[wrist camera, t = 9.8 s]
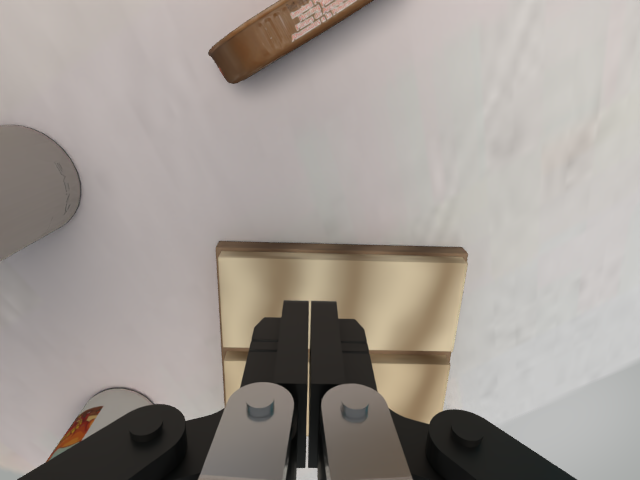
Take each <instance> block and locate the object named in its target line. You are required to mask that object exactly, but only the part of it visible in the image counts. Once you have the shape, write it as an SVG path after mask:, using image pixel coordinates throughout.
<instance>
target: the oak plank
mask: <svg viewBox="0 0 640 480" xmlns="http://www.w3.org/2000/svg"><path fill="white" fill-rule="evenodd" d="M218 264H219V282H220V301H221V320H222V338H223V347H237V348H250V343H251V339H252V335H253V331H254V327H255V326H256V325H257V324H258V323H259V322H260V321H261V320H262V319H263V318H264V317H280V318H281V316H282V309H283V301H284V300H300V301H309V331H308V349H310V320H311V301H336V302H337V310H338V319H355V320H356V321H357V322H358V323H359V324H360V325H361V326H362V327H363V328H364V330H365V334H366V339H367V344H368V348H369V350H401V351H453V348H454V342H455V336H456V330H457V324H458V318H459V312H460V306H461V300H462V295H463V289H464V283H465V277H466V271H467V265H468V263H467V262H466V261H465V260H464V259H463V257H454V256H414V255H374V254H334V253H293V252H253V251H221V253H220V255H219V257H218Z"/></svg>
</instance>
